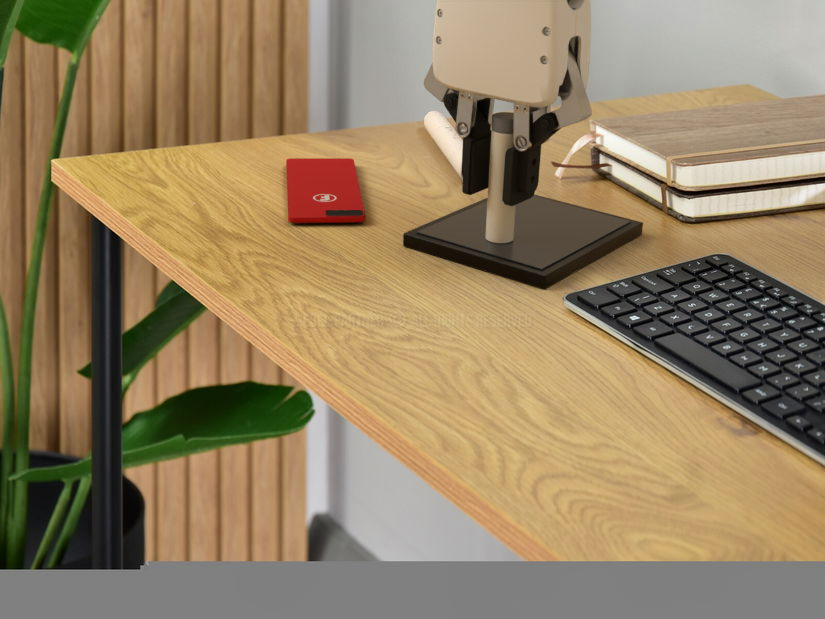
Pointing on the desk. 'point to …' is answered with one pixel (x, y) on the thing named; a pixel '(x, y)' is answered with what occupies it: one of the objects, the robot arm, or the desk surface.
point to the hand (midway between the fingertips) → (498, 193)
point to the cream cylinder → (445, 138)
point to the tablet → (526, 239)
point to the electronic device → (323, 191)
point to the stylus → (499, 181)
